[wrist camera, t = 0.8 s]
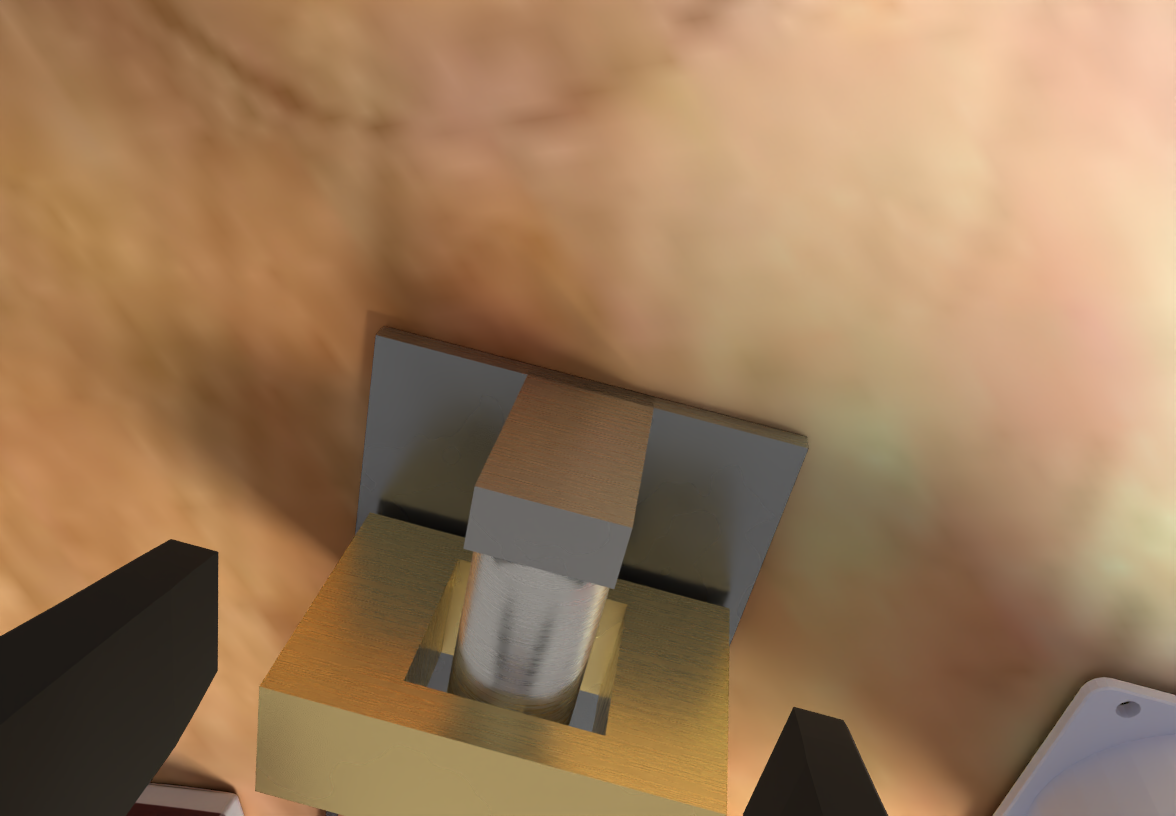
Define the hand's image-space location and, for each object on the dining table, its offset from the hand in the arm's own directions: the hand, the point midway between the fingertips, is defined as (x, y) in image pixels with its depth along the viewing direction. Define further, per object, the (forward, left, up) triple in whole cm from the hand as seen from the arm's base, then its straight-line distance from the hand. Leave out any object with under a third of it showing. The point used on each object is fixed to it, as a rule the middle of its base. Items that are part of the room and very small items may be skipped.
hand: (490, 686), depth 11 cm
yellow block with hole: (0, +7, -10) cm, 12 cm away
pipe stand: (0, +12, -10) cm, 15 cm away
